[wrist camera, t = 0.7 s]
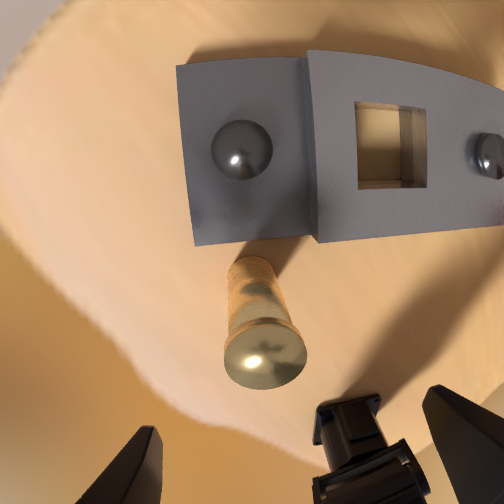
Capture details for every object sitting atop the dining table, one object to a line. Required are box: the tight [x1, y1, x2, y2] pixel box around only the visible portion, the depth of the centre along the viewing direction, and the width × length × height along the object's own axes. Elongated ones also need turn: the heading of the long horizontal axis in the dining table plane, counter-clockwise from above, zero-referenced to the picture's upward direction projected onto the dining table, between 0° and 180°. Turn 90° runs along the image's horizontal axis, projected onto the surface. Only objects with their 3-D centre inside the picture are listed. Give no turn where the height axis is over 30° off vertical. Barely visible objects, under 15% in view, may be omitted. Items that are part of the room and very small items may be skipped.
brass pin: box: [224, 256, 307, 390], centre depth 15 cm, size 3×3×8 cm
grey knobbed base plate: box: [176, 50, 504, 246], centre depth 15 cm, size 10×22×4 cm, turn 94°
